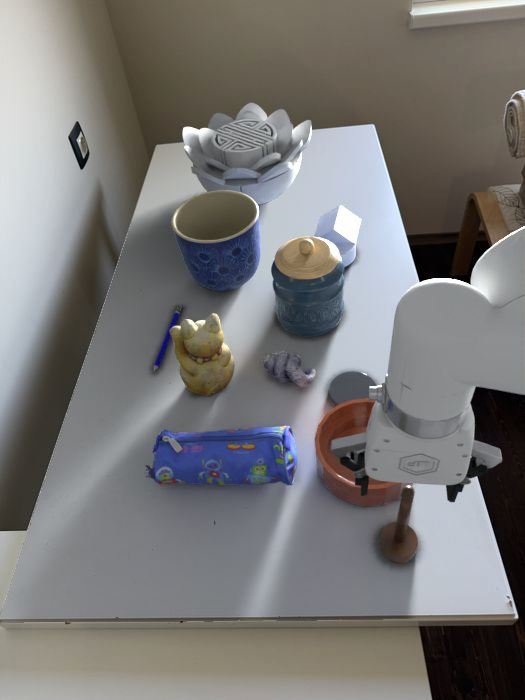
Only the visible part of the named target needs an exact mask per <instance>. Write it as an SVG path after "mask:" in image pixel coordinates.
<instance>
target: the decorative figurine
mask: <svg viewBox="0 0 525 700" xmlns="http://www.w3.org/2000/svg"><path fill="white" fill-rule="evenodd" d="M169 332H170V334H171V338H172V341H173V345H174V354H175V358H176V360H177V362H178V364H179V368H178V373H179V376H180V379H181V380H182V382H183V384H184V385H185V386H186V388H187V389H188V391H190V392H191V393H193V394H195V395H199V396H200V395H201V396H206V397H212V396H213V395H214V394H216V393H218V392H220V391H222V390H224V389H225V388H227V386H228V385H229V384H230V382H231V381H232V378H233V375H234V372H235V367H236V364H235V363H236V362H235V358H234V356H233V354H232V352H231V349H230V348H229V346H228V345H227V344H226V343H224V337H225V336H224V332H223V329H222V325H221V320H220V317H219V315H218V314H217V313H214V312H213V313H210V314H209V315H208V316H206V318H205V320H204V319H200V320H197V321H195V322H194V321H193V320H192V319H187V318H186V319H183V320H182V321H181V322H180V325H175V326H174V327H172V328H171V329H170V330H169Z"/></svg>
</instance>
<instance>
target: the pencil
mask: <svg viewBox="0 0 525 700" xmlns="http://www.w3.org/2000/svg"><path fill="white" fill-rule="evenodd" d="M182 309H183V308H182V305H177V306H176V308H175V311H174V313H173V316H172V318H171V321H170V324H169V326H168V328H167V331H166V334H165V336H164V338H163V341H162V343H161V346H160V349H159V351H158V353H157V356H156V359H155V361H154V363H153V372H156V371H157V370H158V369H160V366H161V363H162V361H163V358H164V355H165V353H166V350H167V347H168V345H169V342H170V340H171V338H172V336H171V334H170V332H169V330H170V329H171V328H172V327H174V326H177V325H176V324H177V322H178V319H179V317H180V314H181V311H182Z"/></svg>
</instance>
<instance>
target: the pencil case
mask: <svg viewBox="0 0 525 700" xmlns="http://www.w3.org/2000/svg"><path fill="white" fill-rule="evenodd" d="M152 453H154V456H153V462H152V466H151V465H148V464H145V465H144V466H145V468H144V472H145V473H144V475H145V478H150V479H152V480H153V481H154V483H156V484H157V485H160V486H168V485H173V484H175V485H176V484H181V485H182V484H183V485H207V486H209V485H210V486H219V485H220V486H221V485H222V486H225V485H226V486H259V485H266V484H267V485H270V484H276V483H282V484H284V485H286V486H293V485H294V483H295V477H296V471H297V467H298V450H297V445H296V440H295V437H294V433H293V429H292V428H291V426H289V425H288V426H287V425H283V426H272V427H265V426H264V427H262V426H258V427H247V428H229V429H221V430H212V431H200V432H199V431H183V432H182V431H177V432H174V433H173V431H172V430H170V429H167V428H164V429H163V430H161V431H160V433H159V434H157V436H156V438H155V443H154V445H153V449H152Z"/></svg>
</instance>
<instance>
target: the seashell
mask: <svg viewBox="0 0 525 700" xmlns="http://www.w3.org/2000/svg"><path fill="white" fill-rule="evenodd" d="M261 361H262V365H263V368H264V369H265V370H266V372H267V373H268V374H269V376H272V377H273V378H274V377H275V378H276V379H277V380H278V381H279V382H280V383H289V382H293V384H294V385H295V386H297V387H299V388H307V387H309V386H310V384H311V382H312V381H313V380H314V379H315V378H316V370H315V368H311V369H308V370H307V371H305V372H304V371H303V370H302V369H301V367H302V358H301V357H300V356H299V355H298V354H289V352H287V351H280V352H279V353H275V352H271V353H270V352H269V353H267V354H266V355H265V357H263V358H262V359H261Z"/></svg>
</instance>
